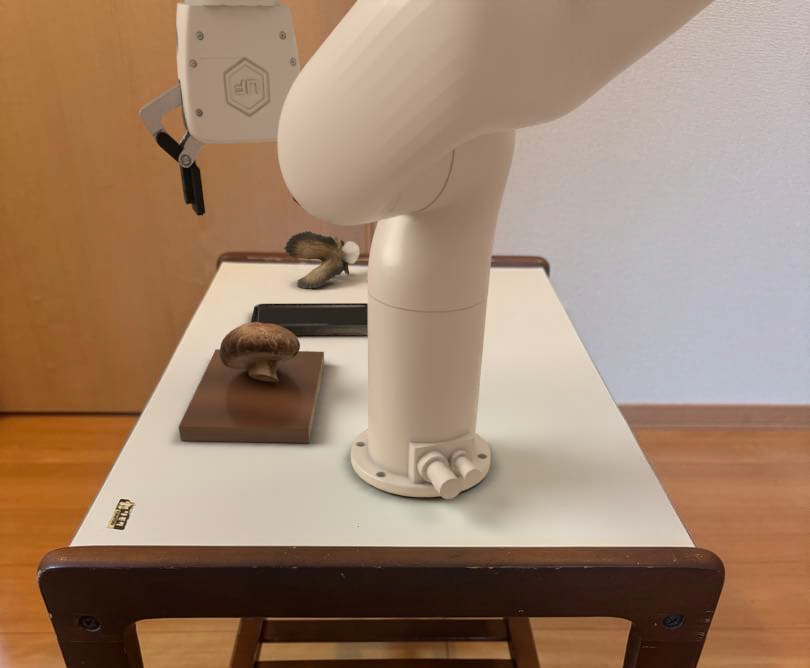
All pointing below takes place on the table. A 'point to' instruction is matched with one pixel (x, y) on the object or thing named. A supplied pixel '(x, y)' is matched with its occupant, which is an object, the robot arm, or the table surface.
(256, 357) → the mushroom
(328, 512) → the table surface
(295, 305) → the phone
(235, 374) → the cutting board
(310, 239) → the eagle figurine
